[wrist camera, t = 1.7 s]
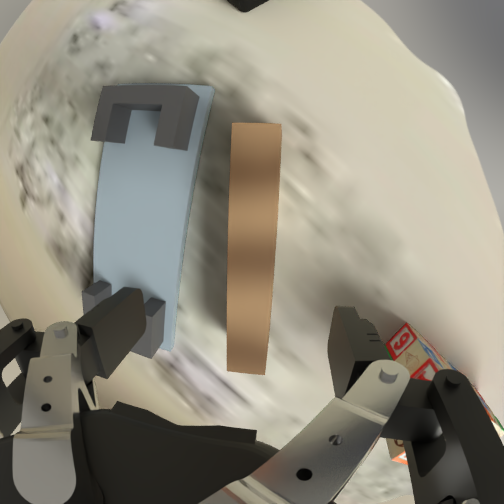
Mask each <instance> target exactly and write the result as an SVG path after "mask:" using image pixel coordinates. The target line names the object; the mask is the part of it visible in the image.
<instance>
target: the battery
mask: <svg viewBox="0 0 504 504" xmlns="http://www.w3.org/2000/svg"><path fill="white" fill-rule="evenodd" d="M228 1H229V2H230V3H232V4H233V5H234V6H235V7H237V8H238V9H239V10H240V11H242V12H248V11H250V10H252V9H254V8H256V7H257V6H259V5H261V4H263V3H265V2H267V1H269V0H228Z"/></svg>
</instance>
